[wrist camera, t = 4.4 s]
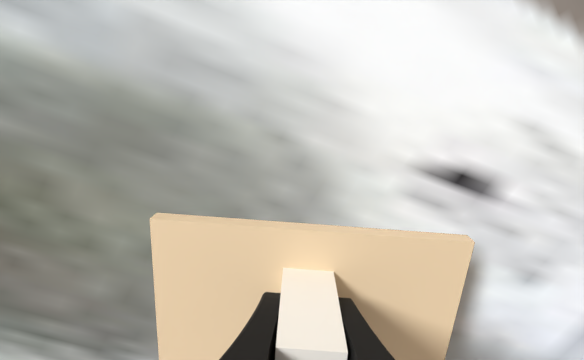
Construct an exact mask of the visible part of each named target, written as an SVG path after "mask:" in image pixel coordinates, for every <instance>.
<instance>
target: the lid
mask: <svg viewBox="0 0 584 360" xmlns="http://www.w3.org/2000/svg"><path fill="white" fill-rule="evenodd" d="M150 230H151V245H152V260H153V275H154V290H155V305H156V320H157V335H158V350H159V360H219V359H220V358H221V357H222V355H223V354H224V353H225V352H226V351H227V350H228V348H229V347H230V346H231V344H232V343H233V342H234V341H235V339H236V338H237V337H238V335H239V334H240V333H241V331H242V330H243V328H244V327H245V325H246V324H247V322H248V321H249V319H250V318H251V316H252V314H253V313H254V311H255V309H256V307H257V306H258V304H259V302H260V300H261V297H262V295H263V294H264V293H265V292H274V293H281V296H280V306H279V317H278V328H277V338H276V349H275V360H347V356H348V350H347V344H346V339H345V333H344V327H343V322H342V316H341V311H340V305H339V299H338V297H341V298H351V299H352V300H353V302H354V303H355V305H356V307H357V308H358V310H359V311H360V313H361V314H362V316H363V317H364V319H365V320H366V322H367V323H368V325H369V326H370V328H371V329H372V330H373V332H374V333H375V334H376V336H377V337H378V339H379V340H380V341H381V343H382V344H383V345H384V346H385V348H386V349H387V350H388V351H389V353H390V354H391V355H392V356H393V357H394V359H395V360H445V357H446V353H447V349H448V345H449V341H450V337H451V333H452V329H453V325H454V322H455V318H456V314H457V310H458V306H459V302H460V298H461V294H462V290H463V287H464V283H465V279H466V275H467V271H468V267H469V263H470V259H471V256H472V252H473V248H474V244H475V242H474V241H473V240H472V239H471V238H470V237H469V236H467V235H458V234H444V233H431V232H417V231H403V230H389V229H375V228H361V227H347V226H333V225H319V224H306V223H292V222H278V221H264V220H250V219H236V218H222V217H208V216H195V215H181V214H167V213H156V214H155V215H153V216H152V217H151V218H150Z"/></svg>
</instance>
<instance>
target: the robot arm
mask: <svg viewBox="0 0 584 360" xmlns="http://www.w3.org/2000/svg"><path fill="white" fill-rule="evenodd" d="M280 296H281V293H274V292H265V293H264V294H263V295H262V297H261V300H260V302H259V304H258V306H257V307H256V309H255V311H254V313H253V314H252V316H251V318H250V319H249V321H248V322H247V324H246V325H245V327H244V328H243V330H242V331H241V333H240V334H239V335H238V337H237V338H236V339H235V341H234V342H233V343H232V344H231V346H230V347H229V348H228V350H227V351H226V352H225V353H224V354H223V355H222V357H221V358H220V359H219V360H275V349H276V338H277V328H278V317H279V306H280ZM338 299H339V305H340V311H341V316H342V322H343V327H344V333H345V339H346V344H347V350H348V356H347V360H395V359H394V357H393V356H392V355H391V354H390V353H389V351H388V350H387V349H386V348H385V346H384V345H383V344H382V343H381V341H380V340H379V339H378V337H377V336H376V334H375V333H374V332H373V330H372V329H371V328H370V326H369V325H368V323H367V322H366V320H365V319H364V317H363V316H362V314H361V313H360V311H359V310H358V308H357V307H356V305H355V303H354V302H353V300H352V299H351V298H341V297H338Z"/></svg>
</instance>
